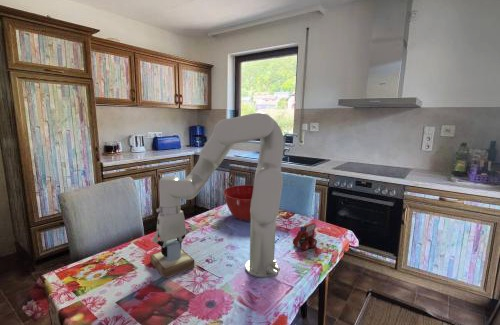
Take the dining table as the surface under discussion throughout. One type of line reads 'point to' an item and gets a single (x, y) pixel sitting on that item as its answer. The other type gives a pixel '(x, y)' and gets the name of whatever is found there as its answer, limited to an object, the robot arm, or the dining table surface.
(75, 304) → the dining table surface
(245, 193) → the mixing bowl
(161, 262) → the plinth
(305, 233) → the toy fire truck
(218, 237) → the dining table surface
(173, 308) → the dining table surface
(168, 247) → the block
